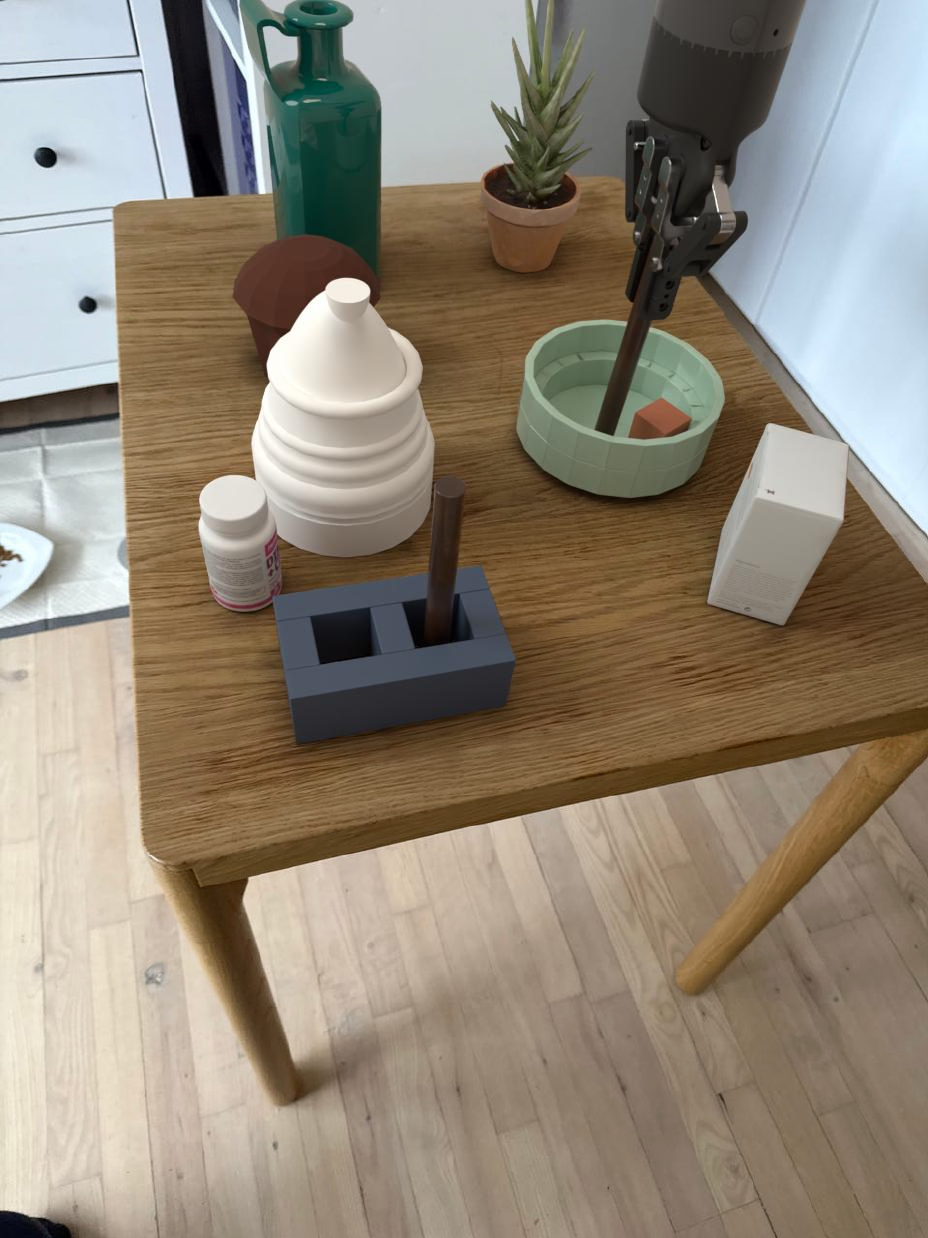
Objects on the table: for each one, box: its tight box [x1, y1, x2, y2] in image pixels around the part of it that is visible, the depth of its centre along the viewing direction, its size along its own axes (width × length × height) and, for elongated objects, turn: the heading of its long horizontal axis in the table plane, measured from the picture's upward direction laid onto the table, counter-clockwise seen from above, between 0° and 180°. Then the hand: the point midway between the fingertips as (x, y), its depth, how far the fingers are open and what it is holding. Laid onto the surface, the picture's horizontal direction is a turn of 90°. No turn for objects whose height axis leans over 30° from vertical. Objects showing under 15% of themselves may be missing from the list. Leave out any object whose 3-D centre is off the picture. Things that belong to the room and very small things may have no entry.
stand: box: [272, 565, 517, 745], centre depth 55 cm, size 8×13×5 cm, turn 105°
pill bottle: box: [198, 474, 283, 613], centre depth 57 cm, size 5×5×8 cm
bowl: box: [515, 318, 726, 499], centre depth 71 cm, size 15×15×6 cm
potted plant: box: [480, 0, 597, 274], centre depth 80 cm, size 10×10×25 cm
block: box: [628, 397, 692, 440], centre depth 70 cm, size 3×3×3 cm
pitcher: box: [238, 0, 383, 280], centre depth 76 cm, size 10×8×22 cm
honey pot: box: [250, 278, 436, 559], centre depth 60 cm, size 13×13×18 cm
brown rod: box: [594, 234, 679, 436], centre depth 63 cm, size 2×2×16 cm
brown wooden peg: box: [422, 475, 467, 648], centre depth 51 cm, size 2×2×16 cm
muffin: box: [232, 234, 381, 377], centre depth 73 cm, size 12×11×10 cm
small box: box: [706, 422, 851, 626], centre depth 61 cm, size 8×6×10 cm
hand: (646, 307), depth 61 cm, fingers closed on brown rod, 1 cm apart
